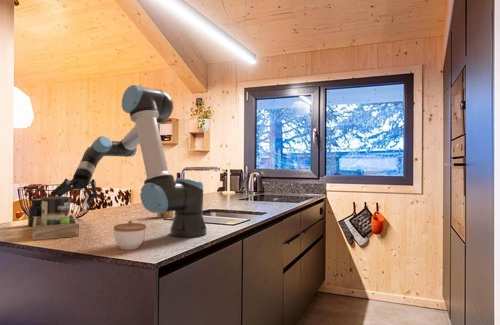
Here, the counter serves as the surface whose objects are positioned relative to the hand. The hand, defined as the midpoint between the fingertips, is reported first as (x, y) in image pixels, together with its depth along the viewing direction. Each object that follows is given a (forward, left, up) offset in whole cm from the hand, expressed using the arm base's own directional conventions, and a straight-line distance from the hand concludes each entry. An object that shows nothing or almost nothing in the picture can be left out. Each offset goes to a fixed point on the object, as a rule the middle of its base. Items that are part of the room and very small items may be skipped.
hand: (67, 208), depth 156 cm
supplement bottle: (+18, +12, -9) cm, 24 cm away
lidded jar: (-44, -17, -9) cm, 48 cm away
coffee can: (-8, +5, -8) cm, 13 cm away
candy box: (+20, -49, -9) cm, 54 cm away
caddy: (-3, +5, -9) cm, 11 cm away
